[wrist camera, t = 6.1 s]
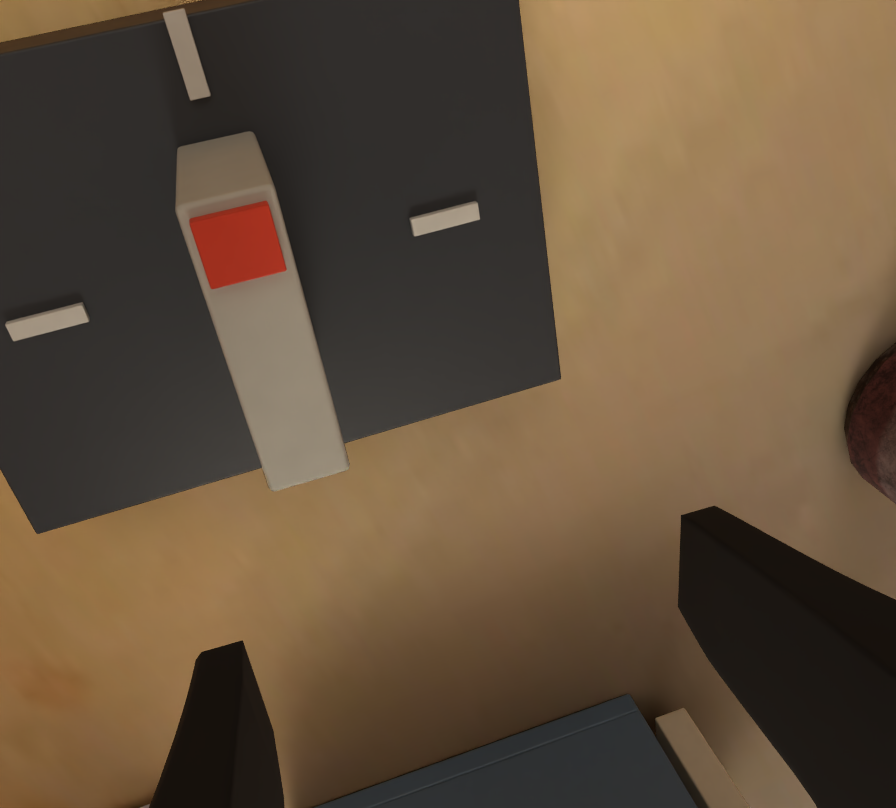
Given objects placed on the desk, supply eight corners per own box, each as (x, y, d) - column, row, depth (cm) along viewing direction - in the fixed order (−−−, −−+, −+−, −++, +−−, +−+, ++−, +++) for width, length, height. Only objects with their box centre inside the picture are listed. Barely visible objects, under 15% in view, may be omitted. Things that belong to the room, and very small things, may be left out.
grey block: (319, 369, 17) (354, 479, 14) (253, 387, 17) (271, 502, 14) (253, 129, 15) (275, 187, 11) (175, 146, 15) (172, 211, 11)
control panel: (56, 464, 20) (36, 543, 17) (-149, 66, 15) (-218, 92, 13) (518, 332, 22) (565, 386, 19) (464, -61, 17) (516, -62, 14)
